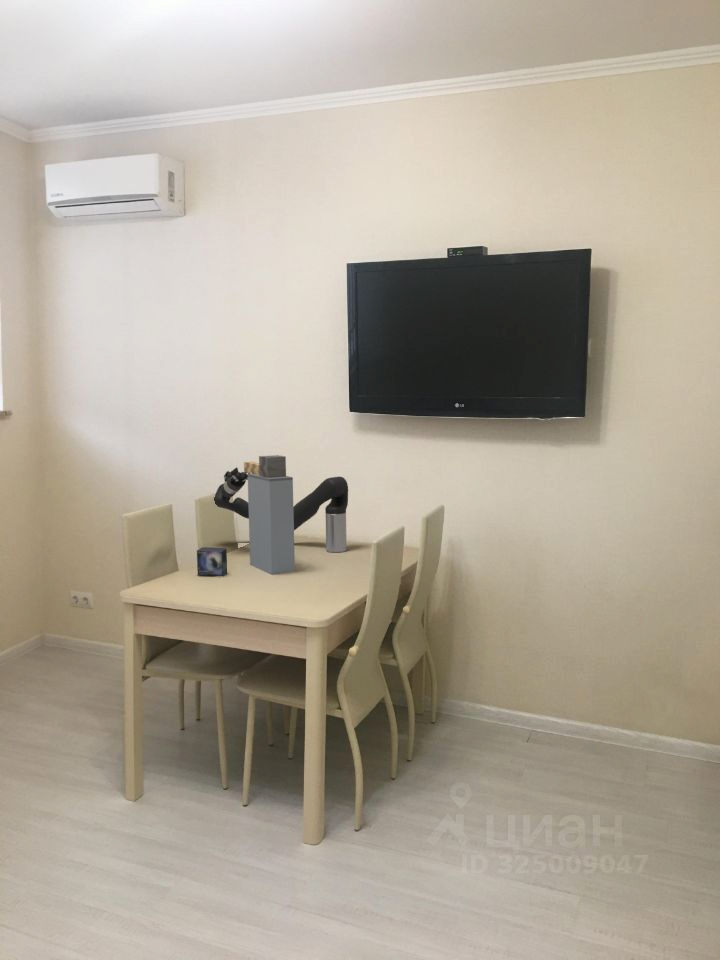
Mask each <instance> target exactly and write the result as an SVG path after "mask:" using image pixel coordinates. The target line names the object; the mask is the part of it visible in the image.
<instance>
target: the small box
mask: <svg viewBox="0 0 720 960" xmlns="http://www.w3.org/2000/svg"><path fill="white" fill-rule="evenodd" d="M227 549H228V548H227V547H205V546H203V547H201V548H199V549H197V550H196V563H197V564H196V565H197V566H196V567H197V569H196V570H197V576H198V575H204V576H203V577H213V576H223V577H224V576H226V575H227V574H228V557H227V556H228V555H227V553H228V552H227V551H228V550H227Z"/></svg>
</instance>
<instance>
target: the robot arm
mask: <svg viewBox="0 0 720 960" xmlns="http://www.w3.org/2000/svg"><path fill="white" fill-rule="evenodd" d="M248 474H254V473H249V472H245V471H241V472H240V471H239V468H238V467H235V468H233V470H227V471H226V472H225V473H224V475H223V480H224V482H223V483H222V484H220V485H219V486H218V488H217V489H216V492H215V494H214V496H215V497H214V496H213V499H214V501H215V504H216V505H217V506H216V505H215V504H214V505H215V506H216V507H218V508H222V509H225V510H229V511H232V512H234V513H235V514H237V515H239V516H240V517H243V518H245V519H247V520H249V506H248V501H247V500H245V499H244V498H242V497H236V498H234V499H233V501H232V502H230V500H231V498H232V497H234V496H235V495H236V494H237V493H238V492H239V491H240V490H241V489H242V488H243V487H244V486H245V484H246V482H247V481H248ZM329 500H330V502H329V504H327V505H326V506H325V508H324V509H325V551H326V552H329V553H343V552H346V551H347V549H348V548H347V547H348V545H347V543H348V542H347V508H348V505H349V504H348V503H349V485H348V482H347V479H346V478H345V477H343V476H333V477H329V478H325V479H324V480H323V481H322V482H321V483H320V484H319V485H318V486H317V487H316V488H315V489H314V490H312V492H311V493H309V494H307V495H306V496H305V497H304V498H302V499H301V500H300V501H298V502H296V504H294V505H293V511H294V531H296V530H297V529H298V528H299V527H301V526H302V525H303V524H305V523H306V522H308V521H309V520H310V519H312V518H313V517H314V516H315V515H317V513H318V511H319V510H320V508H321V506H322V505H324V504H325V503H326V502H328V501H329Z"/></svg>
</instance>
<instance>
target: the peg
mask: <svg viewBox="0 0 720 960" xmlns="http://www.w3.org/2000/svg"><path fill="white" fill-rule="evenodd" d="M286 459H287V458H286V456H284V455H279V454H274V455H261V456H260V455H259V456H258V462H257V461H244V462H243V472H249V473H250V474H252V473H254V474H258V475H259V476H261V477H266V478H273V477H286V476H287V462H286Z"/></svg>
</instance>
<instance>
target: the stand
mask: <svg viewBox="0 0 720 960" xmlns="http://www.w3.org/2000/svg"><path fill="white" fill-rule="evenodd" d="M247 475H248V480H247V494H248V495H247V498H248V501H247V502H248V506H249V519H248V532H249V536H248V537H249V564H250V566H252V567H255V568H256V569H258V568H259V570H261V571H263V572H265V573H267V574H269V575H273V576H274V575H281V574H286V573H295V572H296V563H295V561H296V560H295V559H296V558H295V557H296V556H295V530H294V511H293V507H294V480H293V479H294V478H293V477H292V476H289V475H286V477H273V478H266V477H261V476H259V475H258V474H252V473H250V474H248V473H247Z"/></svg>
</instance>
